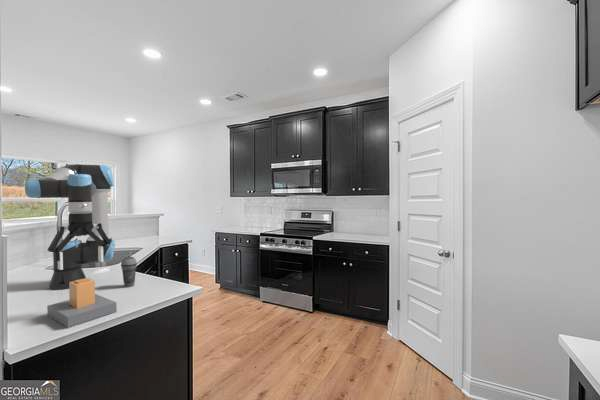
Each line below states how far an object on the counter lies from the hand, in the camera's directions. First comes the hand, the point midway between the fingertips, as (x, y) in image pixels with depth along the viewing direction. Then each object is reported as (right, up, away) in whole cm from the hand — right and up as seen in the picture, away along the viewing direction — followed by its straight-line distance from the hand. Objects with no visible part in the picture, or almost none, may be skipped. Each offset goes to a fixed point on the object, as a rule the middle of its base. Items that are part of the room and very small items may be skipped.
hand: (81, 265), depth 111 cm
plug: (0, -18, 0) cm, 18 cm away
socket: (0, -20, 0) cm, 20 cm away
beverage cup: (-2, -19, +35) cm, 40 cm away
